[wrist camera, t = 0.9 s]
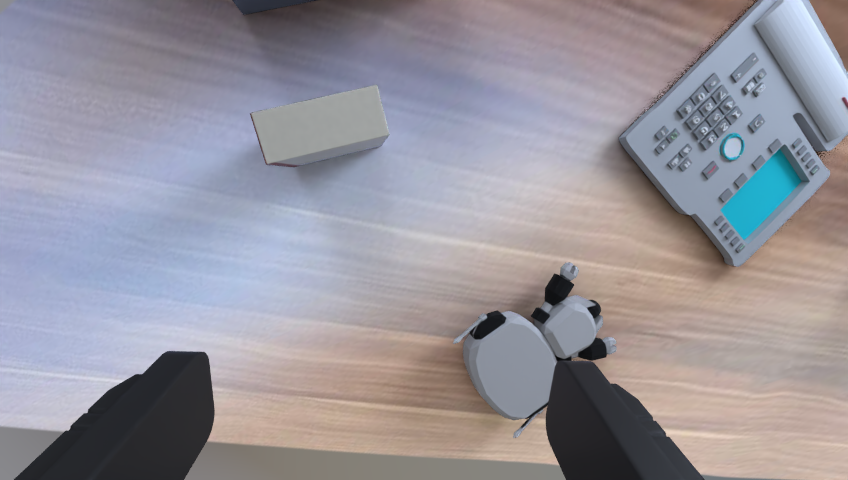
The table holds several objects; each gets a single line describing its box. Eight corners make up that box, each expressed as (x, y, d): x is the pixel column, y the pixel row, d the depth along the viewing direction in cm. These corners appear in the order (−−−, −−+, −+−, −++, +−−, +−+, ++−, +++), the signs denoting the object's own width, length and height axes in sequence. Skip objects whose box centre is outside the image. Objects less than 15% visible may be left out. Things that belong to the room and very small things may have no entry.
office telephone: (807, -38, 38) (898, 122, 42) (778, -25, 40) (867, 125, 45) (633, 137, 38) (743, 279, 42) (616, 139, 40) (721, 273, 45)
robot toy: (556, 249, 42) (437, 330, 40) (582, 256, 38) (450, 348, 36) (604, 340, 45) (495, 420, 43) (634, 357, 40) (513, 446, 39)
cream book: (282, 130, 35) (248, 112, 25) (372, 110, 36) (377, 84, 26) (293, 167, 36) (265, 164, 25) (381, 146, 37) (389, 135, 26)
